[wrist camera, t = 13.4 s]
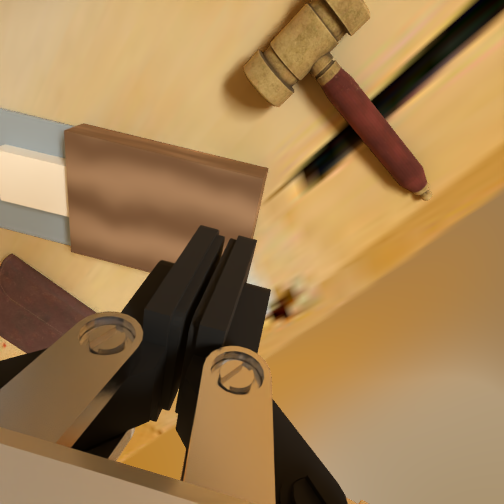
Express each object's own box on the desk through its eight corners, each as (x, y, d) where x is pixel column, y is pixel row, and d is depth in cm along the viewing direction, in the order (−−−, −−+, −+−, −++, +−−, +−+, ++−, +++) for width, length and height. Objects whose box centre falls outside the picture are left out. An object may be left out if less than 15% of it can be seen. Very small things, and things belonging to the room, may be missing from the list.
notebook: (90, 385, 62) (83, 395, 60) (-20, 313, 58) (-30, 321, 56) (135, 337, 55) (129, 346, 53) (14, 251, 51) (3, 258, 49)
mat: (-40, 98, 41) (-42, 98, 41) (83, 128, 40) (82, 128, 40) (-17, 221, 48) (-19, 222, 48) (87, 248, 48) (86, 249, 48)
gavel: (488, 174, 33) (389, 239, 38) (469, 157, 37) (381, 218, 41) (336, -38, 27) (238, 70, 31) (332, -32, 31) (245, 64, 35)
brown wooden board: (83, 123, 40) (63, 130, 37) (268, 168, 39) (263, 179, 36) (87, 238, 47) (71, 251, 44) (244, 278, 46) (238, 295, 43)
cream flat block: (5, 144, 42) (-9, 148, 41) (82, 162, 42) (71, 167, 40) (13, 194, 45) (0, 200, 44) (84, 211, 45) (74, 218, 43)
